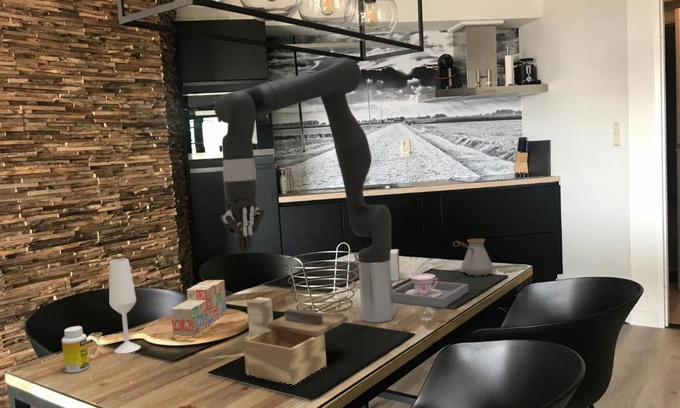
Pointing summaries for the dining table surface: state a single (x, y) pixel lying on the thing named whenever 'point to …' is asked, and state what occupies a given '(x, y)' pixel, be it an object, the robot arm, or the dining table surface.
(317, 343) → the open wooden box
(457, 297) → the coaster tray
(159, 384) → the dining table surface
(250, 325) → the key block
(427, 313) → the dining table surface
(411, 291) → the teacup
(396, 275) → the small box
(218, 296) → the stack of blocks
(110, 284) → the champagne flute
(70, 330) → the supplement bottle
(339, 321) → the lid
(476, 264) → the coffee pot
